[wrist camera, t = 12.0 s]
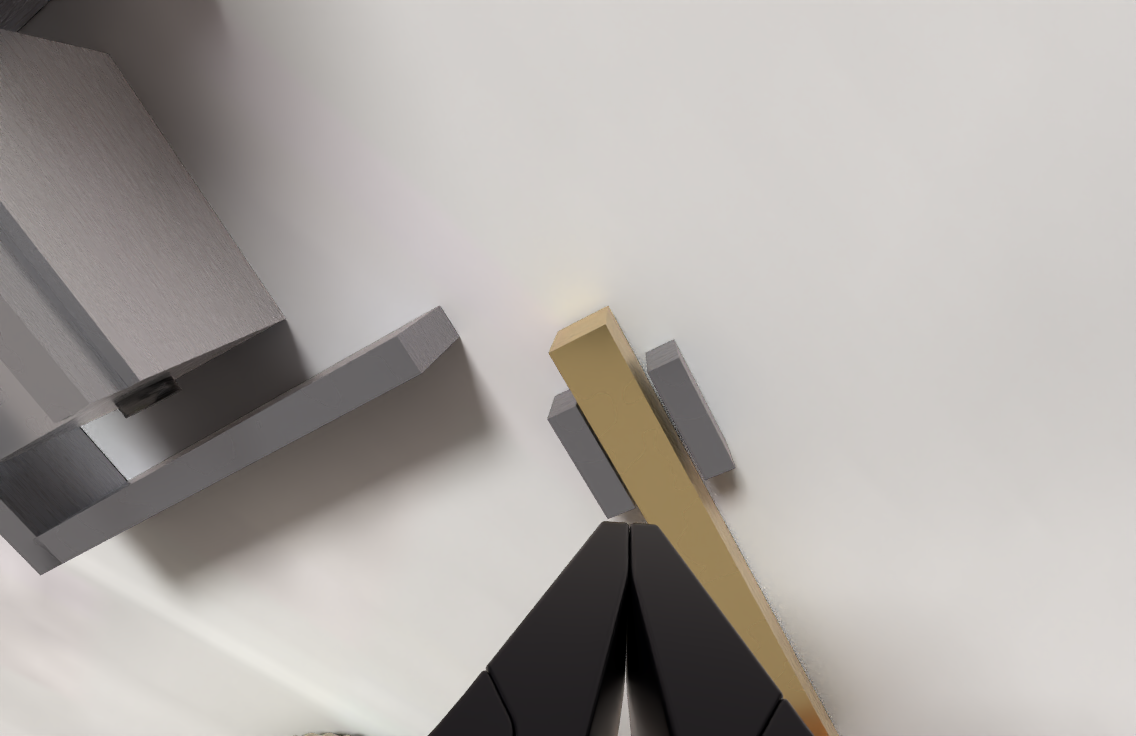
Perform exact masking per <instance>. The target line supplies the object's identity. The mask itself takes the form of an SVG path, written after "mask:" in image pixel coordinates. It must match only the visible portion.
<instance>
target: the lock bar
mask: <svg viewBox="0 0 1136 736" xmlns="http://www.w3.org/2000/svg"><path fill="white" fill-rule="evenodd" d="M549 355H550V356H551V358H552V360H553V362H554V363H555V365H556V367H557V368H558V370H559V372H560V374H561V375H562V377H563V379H564V380H565V382H566V384H567V386H568V387H569V389H570V391H571V392H572V394H573V396H574V398H575V399H576V401H577V403H578V404H579V406H580V408H581V410H582V411H583V413H584V415H585V416H586V418H587V420H588V422H589V423H590V425H591V427H592V428H593V430H594V432H595V434H596V435H597V437H598V439H599V440H600V442H601V444H602V446H603V447H604V449H605V451H606V452H607V454H608V456H609V458H610V459H611V461H612V463H613V464H614V466H615V468H616V470H617V471H618V473H619V475H620V476H621V478H622V480H623V482H624V483H625V485H626V487H627V488H628V490H629V492H630V494H631V495H632V497H633V499H634V501H635V502H636V504H637V506H638V507H639V509H640V511H641V513H642V514H643V516H644V518H645V519H646V521H647V523H648V524H655V525H657V526H658V527H659V528H660V529H661V530H662V532H663V533H664V534H665V536H666V537H667V538H668V540H669V541H670V542H671V544H672V545H673V547H674V548H675V549H676V551H677V552H678V553H679V555H680V556H681V557H682V559H683V560H684V561H685V563H686V564H687V565H688V567H689V568H690V569H691V571H692V572H693V573H694V575H695V576H696V577H697V579H698V580H699V582H700V583H701V584H702V586H703V587H704V588H705V590H706V591H707V592H708V594H709V595H710V596H711V598H712V599H713V600H714V602H715V603H716V604H717V606H718V607H719V608H720V610H721V611H722V612H723V614H724V615H725V617H726V618H727V619H728V621H729V622H730V623H731V625H732V626H733V627H734V629H735V630H736V631H737V633H738V634H739V635H740V637H741V638H742V639H743V641H744V642H745V643H746V645H747V646H748V647H749V649H750V650H751V652H752V653H753V654H754V656H755V657H756V658H757V660H758V661H759V662H760V664H761V665H762V666H763V668H764V669H765V670H766V672H767V673H768V674H769V676H770V677H771V678H772V680H773V681H774V682H775V684H776V685H777V687H778V688H779V689H780V691H781V692H782V694H783V699H787V700H788V701H789V702H790V704H791V705H792V706H793V708H794V709H795V710H796V712H797V713H798V715H799V716H800V717H801V719H802V720H803V721H804V723H805V724H806V725H807V727H808V728H809V729H810V730H811V732H812V733H813V734H814V736H839V735H838V733H837V731H836V729H835V728H834V726H833V724H832V722H831V720H830V718H829V716H828V715H827V713H826V711H825V709H824V707H823V705H822V703H821V701H820V700H819V698H818V696H817V694H816V692H815V690H814V688H813V687H812V685H811V683H810V681H809V679H808V677H807V675H806V674H805V672H804V670H803V668H802V666H801V664H800V662H799V660H798V659H797V657H796V655H795V653H794V651H793V649H792V647H791V646H790V644H789V642H788V640H787V638H786V636H785V634H784V632H783V631H782V629H781V627H780V625H779V623H778V621H777V619H776V618H775V616H774V614H773V612H772V610H771V608H770V606H769V605H768V603H767V601H766V599H765V597H764V595H763V593H762V591H761V590H760V588H759V586H758V584H757V582H756V580H755V578H754V577H753V575H752V573H751V571H750V569H749V567H748V565H747V563H746V562H745V560H744V558H743V556H742V554H741V552H740V550H739V549H738V547H737V545H736V543H735V541H734V539H733V537H732V536H731V534H730V532H729V530H728V528H727V526H726V524H725V522H724V521H723V519H722V517H721V515H720V513H719V511H718V509H717V508H716V506H715V504H714V502H713V500H712V498H711V496H710V494H709V493H708V491H707V489H706V487H705V485H704V483H703V481H702V480H701V478H700V476H699V474H698V472H697V470H696V468H695V466H694V465H693V463H692V461H691V459H690V457H689V455H688V453H687V452H686V450H685V448H684V446H683V444H682V442H681V440H680V439H679V437H678V435H677V433H676V431H675V429H674V427H673V425H672V424H671V422H670V420H669V418H668V416H667V414H666V412H665V411H664V409H663V407H662V405H661V403H660V401H659V399H658V397H657V396H656V394H655V392H654V390H653V388H652V386H651V384H650V383H649V381H648V379H647V377H646V375H645V373H644V371H643V370H642V368H641V366H640V364H639V362H638V360H637V358H636V356H635V355H634V353H633V351H632V349H631V347H630V345H629V343H628V342H627V340H626V338H625V336H624V334H623V332H622V330H621V328H620V327H619V325H618V323H617V321H616V319H615V317H614V315H613V314H612V312H611V310H610V308H609V306H607V307H605V308H603V309H601V310H599V311H597V312H595V313H593V314H591V315H589V316H587V317H585V318H583V319H581V320H579V321H577V322H575V323H573V324H571V325H570V326H568V327H566V328H564V329H562V330H560V331H558V333H557V335H556V337H555V339H554V342H553V344H552V346H551V348H550V351H549Z"/></svg>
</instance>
